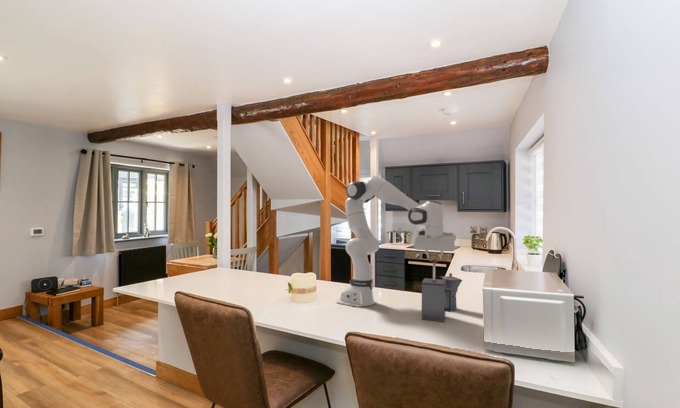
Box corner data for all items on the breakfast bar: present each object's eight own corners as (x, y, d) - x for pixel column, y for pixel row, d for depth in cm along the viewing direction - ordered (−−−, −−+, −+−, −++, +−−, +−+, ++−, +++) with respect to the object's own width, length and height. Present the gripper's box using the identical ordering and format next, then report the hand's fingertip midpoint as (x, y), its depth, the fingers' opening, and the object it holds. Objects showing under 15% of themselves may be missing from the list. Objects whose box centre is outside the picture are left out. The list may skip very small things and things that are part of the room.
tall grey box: (421, 320, 178) (421, 282, 178) (423, 313, 188) (424, 278, 188) (450, 323, 173) (451, 284, 173) (451, 316, 183) (451, 280, 184)
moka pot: (463, 312, 192) (463, 275, 192) (434, 310, 195) (434, 274, 195) (460, 307, 201) (461, 272, 201) (433, 305, 204) (433, 271, 204)
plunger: (425, 299, 179) (425, 253, 179) (427, 295, 186) (427, 252, 186) (441, 300, 176) (441, 254, 177) (442, 297, 184) (442, 252, 184)
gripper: (455, 232, 181) (455, 259, 181) (415, 231, 188) (415, 257, 188) (455, 233, 175) (455, 261, 175) (413, 231, 182) (413, 258, 182)
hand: (434, 259), depth 181 cm, fingers closed on plunger, 4 cm apart
